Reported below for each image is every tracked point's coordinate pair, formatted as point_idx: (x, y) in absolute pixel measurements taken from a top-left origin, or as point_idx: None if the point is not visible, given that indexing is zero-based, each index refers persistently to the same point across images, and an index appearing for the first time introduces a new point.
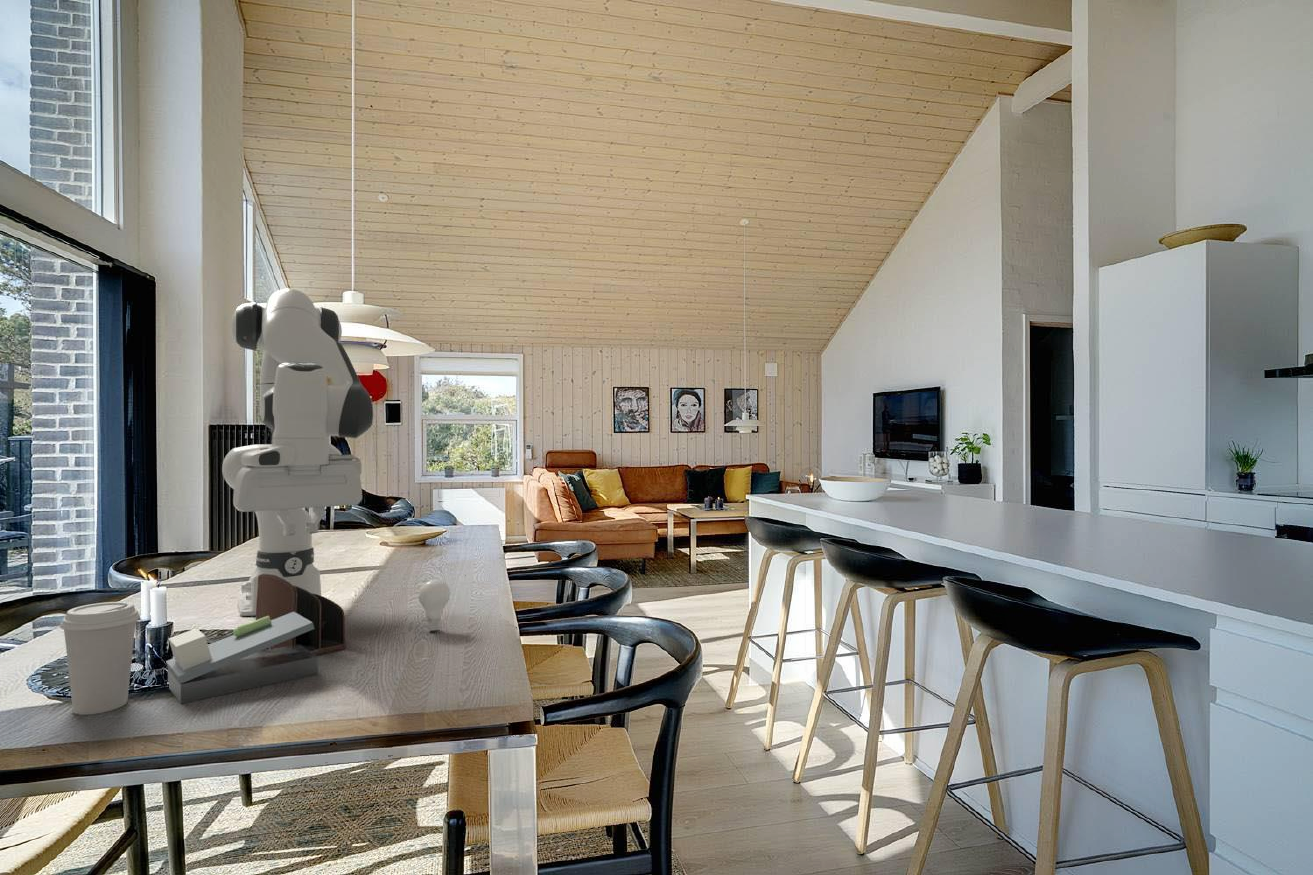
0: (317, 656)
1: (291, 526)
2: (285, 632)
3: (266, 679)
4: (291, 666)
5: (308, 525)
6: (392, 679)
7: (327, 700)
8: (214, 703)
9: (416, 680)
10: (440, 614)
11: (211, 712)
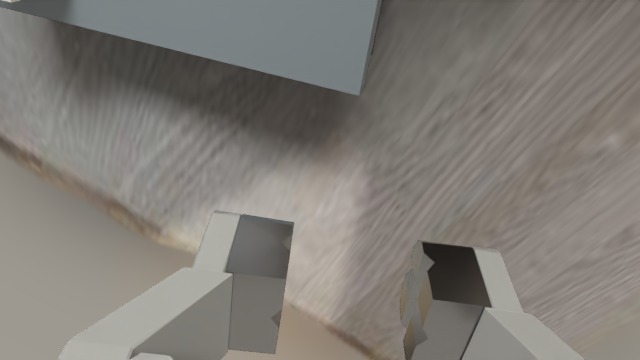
0: (371, 53)
1: (240, 342)
2: (273, 66)
3: None
4: None
5: (411, 338)
6: (451, 205)
7: (294, 209)
8: (109, 49)
9: (474, 243)
10: None
11: (96, 100)
